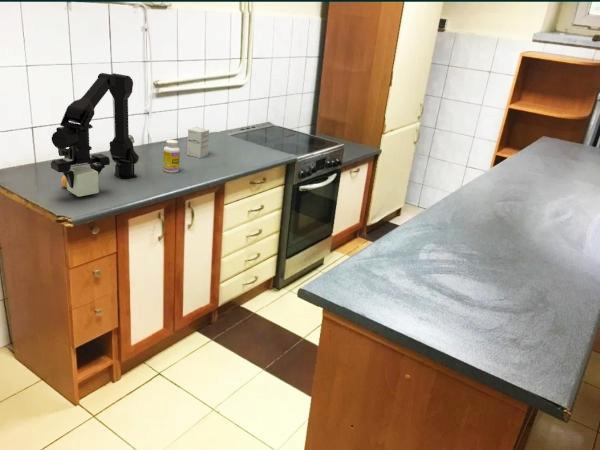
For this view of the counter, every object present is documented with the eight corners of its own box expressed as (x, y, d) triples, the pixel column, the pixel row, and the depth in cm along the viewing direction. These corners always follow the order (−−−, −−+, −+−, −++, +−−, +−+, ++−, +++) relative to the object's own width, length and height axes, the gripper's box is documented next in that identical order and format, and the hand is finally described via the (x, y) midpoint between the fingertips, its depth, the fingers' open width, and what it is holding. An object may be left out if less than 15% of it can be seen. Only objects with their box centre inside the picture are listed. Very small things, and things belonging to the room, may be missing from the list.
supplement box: (186, 155, 242) (187, 128, 237) (195, 152, 249) (196, 126, 244) (199, 158, 240) (201, 132, 235) (208, 155, 247) (209, 129, 242)
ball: (78, 173, 186) (80, 187, 187) (71, 172, 189) (73, 185, 190) (64, 176, 182) (66, 189, 184) (57, 174, 185) (59, 188, 187)
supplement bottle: (171, 174, 215) (172, 144, 210) (159, 170, 218) (160, 140, 213) (182, 171, 220) (183, 141, 215) (171, 167, 223) (171, 138, 218)
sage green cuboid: (87, 186, 186) (86, 165, 183) (98, 192, 182) (98, 171, 179) (67, 189, 181) (66, 168, 178) (78, 196, 177) (77, 175, 174)
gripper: (93, 134, 186) (94, 175, 192) (41, 139, 172) (44, 183, 178) (110, 141, 180) (111, 184, 186) (57, 148, 166) (60, 193, 172)
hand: (82, 185), depth 181 cm, fingers closed on sage green cuboid, 7 cm apart
